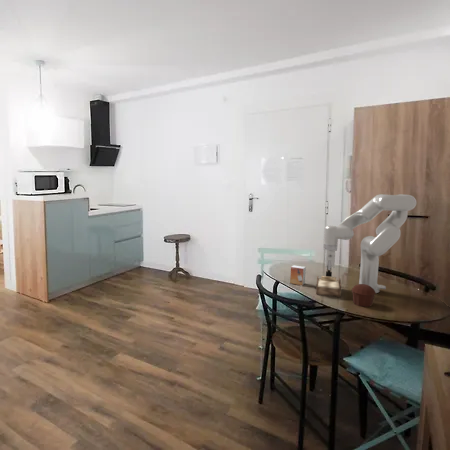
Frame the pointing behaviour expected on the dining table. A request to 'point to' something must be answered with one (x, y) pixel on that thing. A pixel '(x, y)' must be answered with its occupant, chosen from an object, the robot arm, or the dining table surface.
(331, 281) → the lid
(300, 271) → the small box
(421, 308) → the dining table surface
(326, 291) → the walnut box
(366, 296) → the muffin
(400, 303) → the dining table surface
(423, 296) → the dining table surface
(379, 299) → the dining table surface
